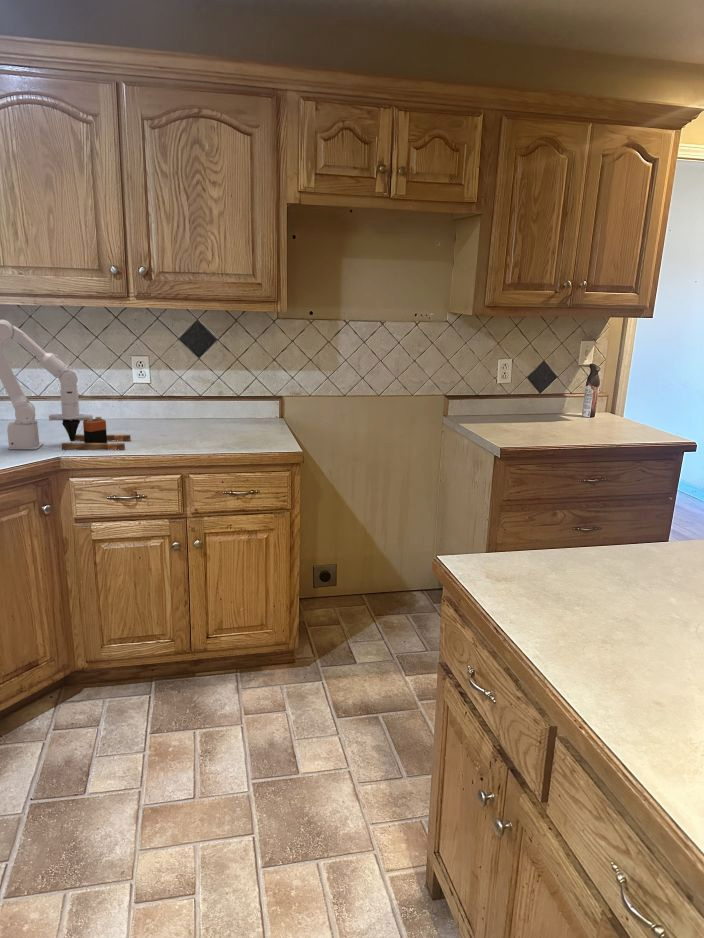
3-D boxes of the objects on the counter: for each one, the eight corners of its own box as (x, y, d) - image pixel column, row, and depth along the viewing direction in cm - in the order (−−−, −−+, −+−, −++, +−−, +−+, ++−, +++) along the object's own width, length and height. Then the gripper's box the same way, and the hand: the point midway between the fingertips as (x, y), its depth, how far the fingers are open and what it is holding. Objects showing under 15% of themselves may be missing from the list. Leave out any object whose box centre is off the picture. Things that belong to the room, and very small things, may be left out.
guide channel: (61, 449, 238) (61, 444, 237) (71, 439, 252) (71, 434, 252) (123, 450, 241) (123, 444, 241) (130, 439, 255) (130, 434, 255)
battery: (107, 444, 248) (106, 417, 245) (90, 447, 243) (89, 420, 240) (101, 442, 251) (99, 415, 248) (84, 445, 245) (82, 418, 243)
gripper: (45, 404, 236) (48, 442, 240) (88, 405, 239) (91, 442, 242) (50, 401, 243) (53, 438, 247) (93, 401, 245) (95, 438, 249)
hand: (72, 440), depth 245 cm, fingers closed
